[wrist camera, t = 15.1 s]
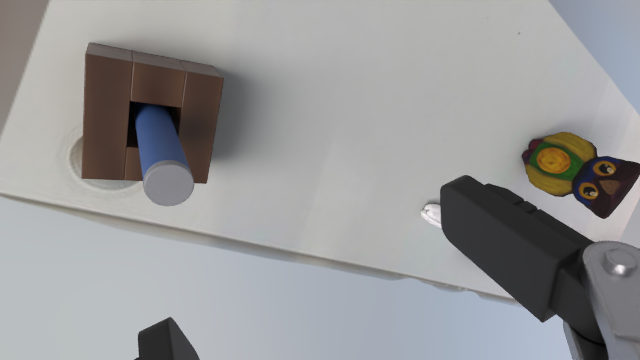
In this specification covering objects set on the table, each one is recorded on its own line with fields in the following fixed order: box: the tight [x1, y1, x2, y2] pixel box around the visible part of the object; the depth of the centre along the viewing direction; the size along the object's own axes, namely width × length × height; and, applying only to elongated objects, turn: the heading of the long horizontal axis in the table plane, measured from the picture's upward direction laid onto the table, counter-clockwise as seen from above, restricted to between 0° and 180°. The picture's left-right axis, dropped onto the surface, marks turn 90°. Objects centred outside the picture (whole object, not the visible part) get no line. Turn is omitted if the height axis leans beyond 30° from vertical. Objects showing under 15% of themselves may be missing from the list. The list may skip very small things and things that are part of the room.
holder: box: [82, 43, 224, 184], centre depth 35 cm, size 10×10×5 cm
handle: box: [134, 102, 194, 206], centre depth 31 cm, size 3×3×16 cm
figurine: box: [522, 132, 640, 219], centre depth 60 cm, size 10×7×15 cm
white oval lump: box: [421, 204, 442, 228], centre depth 61 cm, size 3×8×3 cm, turn 55°
